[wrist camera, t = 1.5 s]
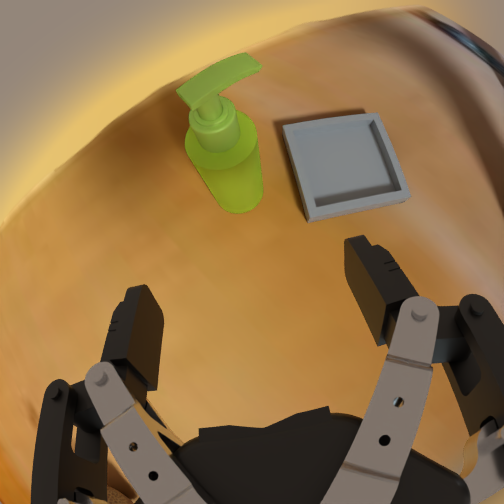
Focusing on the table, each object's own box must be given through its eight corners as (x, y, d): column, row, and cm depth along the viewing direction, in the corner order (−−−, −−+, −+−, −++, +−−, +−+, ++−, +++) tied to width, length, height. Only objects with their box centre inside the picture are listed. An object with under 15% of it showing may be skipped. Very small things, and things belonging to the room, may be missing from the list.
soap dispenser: (280, 188, 35) (284, 77, 15) (233, 223, 35) (185, 141, 15) (250, 154, 36) (227, 34, 16) (205, 187, 36) (140, 87, 16)
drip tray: (372, 121, 35) (377, 112, 33) (403, 202, 33) (411, 196, 31) (282, 135, 36) (282, 125, 33) (307, 222, 34) (309, 217, 32)
